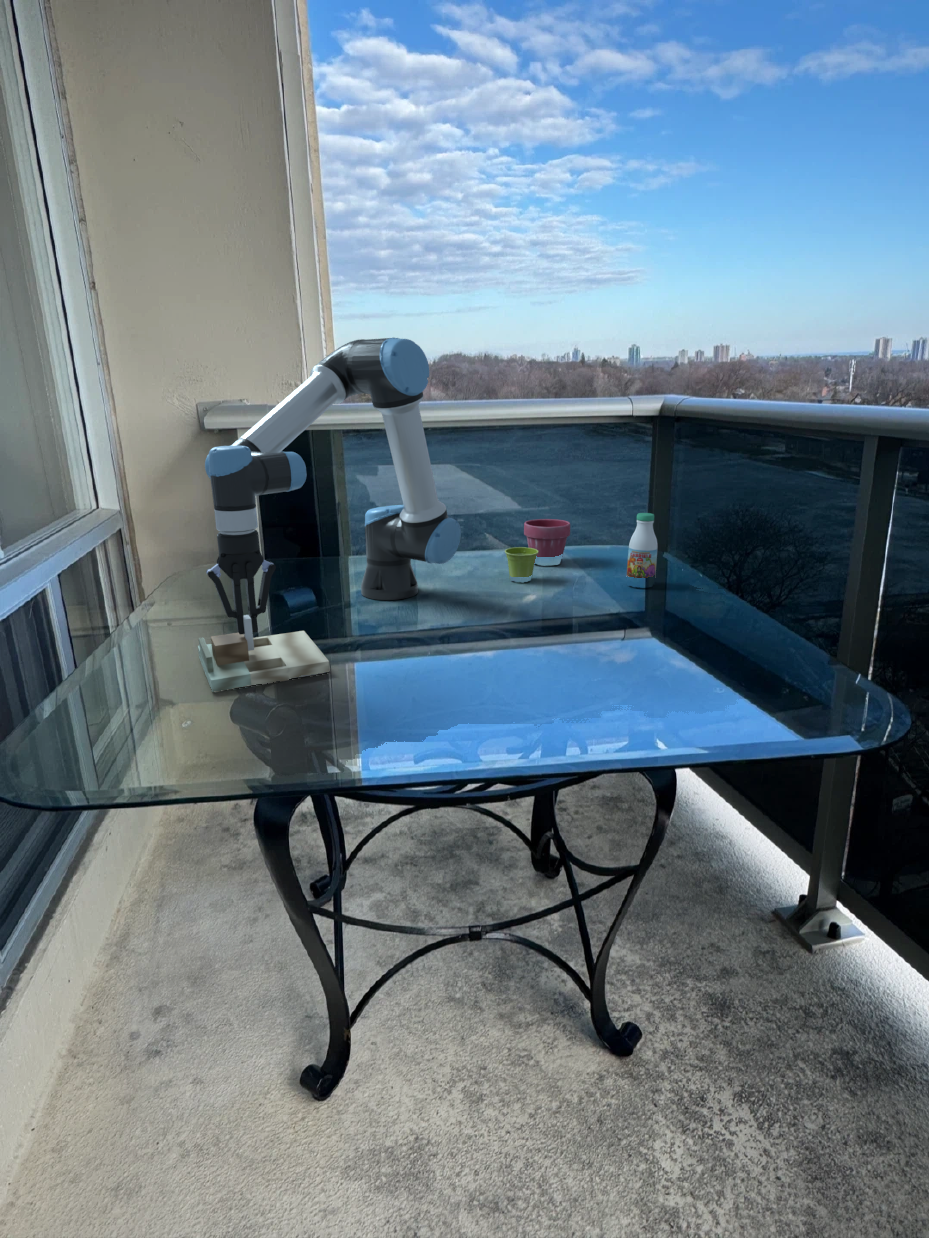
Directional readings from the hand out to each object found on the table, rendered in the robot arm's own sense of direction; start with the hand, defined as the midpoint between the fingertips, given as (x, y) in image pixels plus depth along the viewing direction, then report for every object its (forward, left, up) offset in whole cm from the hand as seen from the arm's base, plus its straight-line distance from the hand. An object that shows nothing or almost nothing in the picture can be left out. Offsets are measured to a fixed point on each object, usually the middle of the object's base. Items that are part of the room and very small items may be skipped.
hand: (249, 648), depth 146 cm
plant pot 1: (-81, -34, -4) cm, 88 cm away
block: (+4, 0, -2) cm, 4 cm away
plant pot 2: (-98, -48, -4) cm, 109 cm away
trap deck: (-2, 0, -4) cm, 5 cm away
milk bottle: (-108, -15, -4) cm, 109 cm away
